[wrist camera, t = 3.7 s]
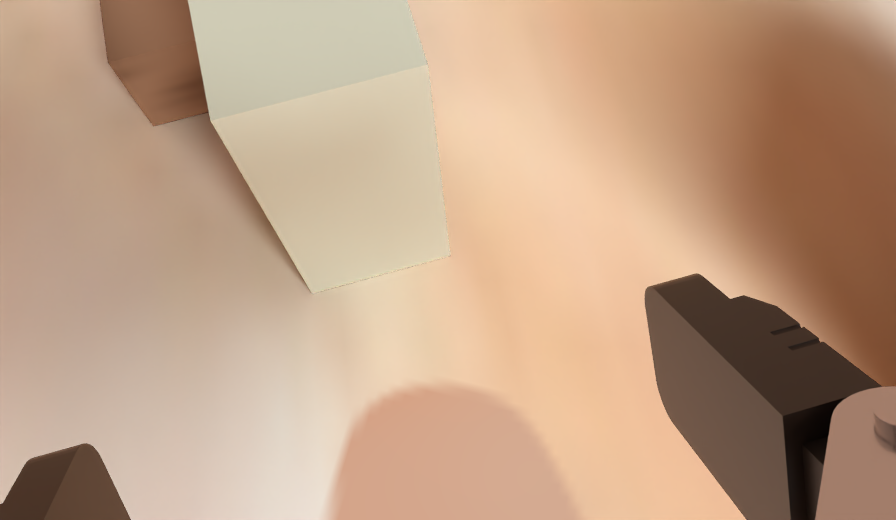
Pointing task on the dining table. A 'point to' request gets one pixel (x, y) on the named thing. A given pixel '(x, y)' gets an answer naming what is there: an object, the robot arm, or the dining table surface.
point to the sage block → (329, 129)
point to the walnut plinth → (155, 56)
